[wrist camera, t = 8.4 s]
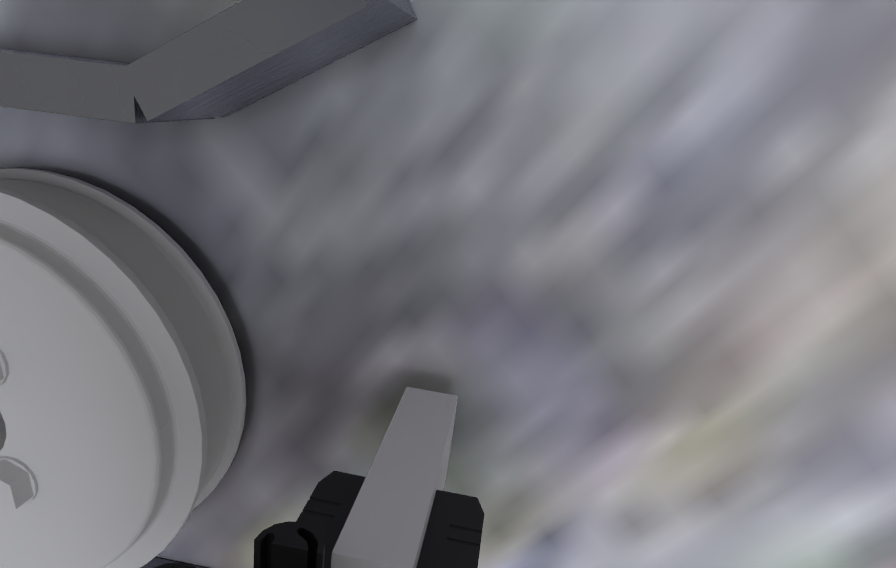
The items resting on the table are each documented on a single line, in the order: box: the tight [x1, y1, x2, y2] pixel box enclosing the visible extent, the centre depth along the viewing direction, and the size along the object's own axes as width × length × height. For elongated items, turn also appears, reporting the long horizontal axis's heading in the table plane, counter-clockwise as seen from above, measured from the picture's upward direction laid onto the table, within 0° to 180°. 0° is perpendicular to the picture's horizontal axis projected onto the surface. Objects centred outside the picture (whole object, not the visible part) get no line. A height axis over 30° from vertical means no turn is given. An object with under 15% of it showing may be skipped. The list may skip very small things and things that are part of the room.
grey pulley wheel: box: [0, 168, 246, 568], centre depth 18 cm, size 13×13×5 cm
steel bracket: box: [0, 0, 417, 568], centre depth 18 cm, size 24×21×4 cm
